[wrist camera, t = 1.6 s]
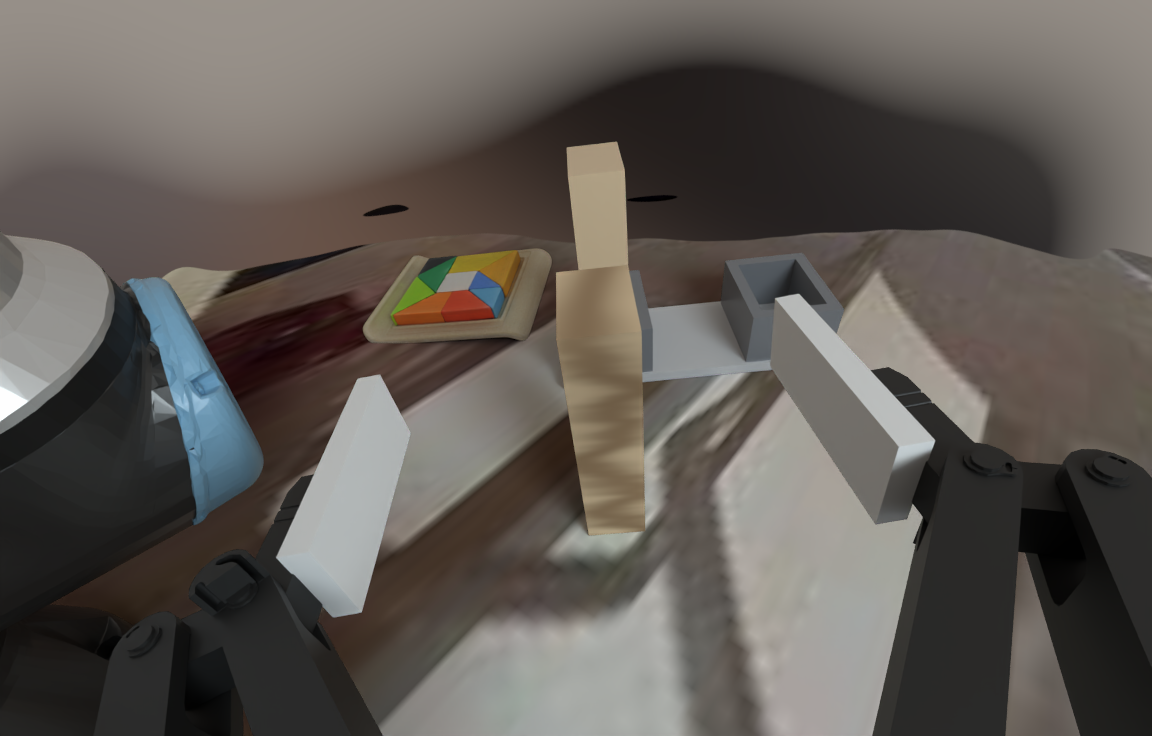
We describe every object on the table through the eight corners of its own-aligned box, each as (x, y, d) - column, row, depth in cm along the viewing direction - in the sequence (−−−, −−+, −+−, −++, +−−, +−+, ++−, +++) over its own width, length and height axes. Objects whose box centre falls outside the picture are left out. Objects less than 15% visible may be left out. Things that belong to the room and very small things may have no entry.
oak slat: (588, 535, 35) (556, 339, 23) (585, 466, 40) (556, 272, 28) (645, 531, 35) (641, 331, 23) (635, 462, 40) (627, 264, 28)
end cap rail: (564, 389, 47) (532, 192, 34) (563, 324, 54) (536, 142, 41) (836, 363, 45) (908, 149, 33) (797, 301, 53) (843, 106, 40)
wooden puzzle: (420, 264, 68) (411, 241, 66) (554, 261, 65) (550, 237, 63) (364, 346, 56) (351, 321, 53) (527, 347, 53) (521, 321, 50)
